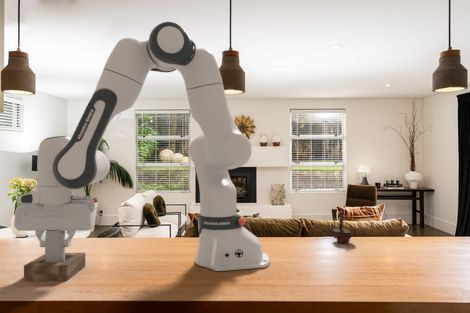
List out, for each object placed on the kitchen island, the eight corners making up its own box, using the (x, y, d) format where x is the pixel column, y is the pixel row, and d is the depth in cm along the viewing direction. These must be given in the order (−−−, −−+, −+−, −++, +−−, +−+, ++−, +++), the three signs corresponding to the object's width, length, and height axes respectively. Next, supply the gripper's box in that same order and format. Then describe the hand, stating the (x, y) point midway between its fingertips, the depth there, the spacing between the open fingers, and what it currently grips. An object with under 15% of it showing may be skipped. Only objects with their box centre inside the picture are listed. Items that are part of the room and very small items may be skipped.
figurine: (356, 246, 118) (356, 212, 118) (333, 245, 118) (333, 212, 118) (349, 239, 127) (348, 208, 127) (327, 239, 128) (327, 207, 128)
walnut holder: (85, 266, 97) (85, 252, 97) (67, 280, 86) (67, 265, 86) (46, 266, 96) (46, 253, 96) (23, 281, 85) (23, 265, 85)
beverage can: (57, 277, 88) (58, 231, 88) (40, 276, 89) (41, 231, 89) (68, 270, 93) (69, 227, 93) (52, 270, 94) (53, 227, 94)
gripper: (98, 194, 94) (98, 243, 94) (25, 194, 94) (24, 243, 94) (89, 197, 88) (89, 249, 88) (10, 197, 87) (10, 249, 87)
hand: (55, 246), depth 91 cm, fingers open, 5 cm apart
